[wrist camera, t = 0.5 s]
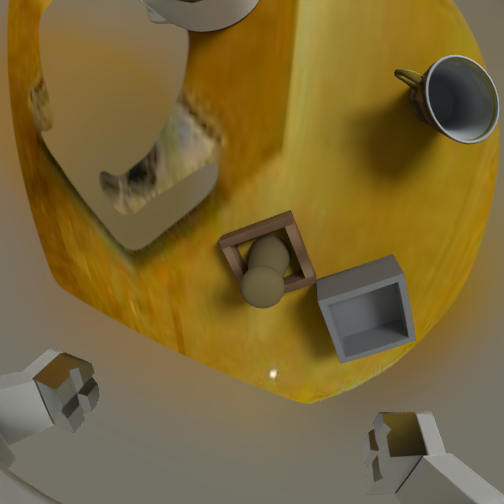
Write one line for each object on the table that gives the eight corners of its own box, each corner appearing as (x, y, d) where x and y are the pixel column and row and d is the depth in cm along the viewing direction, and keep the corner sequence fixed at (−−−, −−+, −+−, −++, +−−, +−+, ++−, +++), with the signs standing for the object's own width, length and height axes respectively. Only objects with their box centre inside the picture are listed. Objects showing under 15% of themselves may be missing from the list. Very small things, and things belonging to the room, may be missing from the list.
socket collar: (222, 235, 46) (218, 241, 44) (290, 210, 43) (290, 215, 41) (251, 294, 49) (248, 303, 47) (315, 274, 46) (316, 283, 44)
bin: (316, 279, 47) (317, 301, 41) (392, 254, 43) (403, 272, 38) (338, 339, 51) (340, 363, 45) (406, 317, 47) (415, 340, 42)
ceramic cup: (467, 84, 32) (505, 80, 23) (452, 147, 36) (489, 157, 27) (385, 46, 32) (408, 28, 23) (369, 114, 36) (390, 113, 27)
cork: (274, 281, 48) (266, 324, 38) (241, 258, 47) (224, 297, 37) (299, 251, 45) (298, 290, 35) (264, 227, 45) (253, 260, 35)
